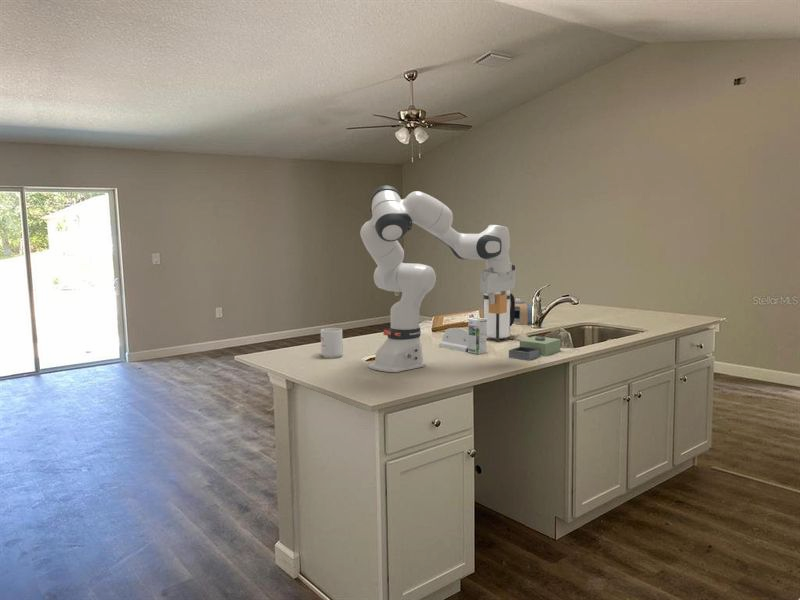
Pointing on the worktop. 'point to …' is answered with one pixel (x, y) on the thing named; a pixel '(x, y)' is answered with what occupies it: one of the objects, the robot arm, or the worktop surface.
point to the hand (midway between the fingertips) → (497, 303)
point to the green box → (542, 344)
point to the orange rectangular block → (499, 304)
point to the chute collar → (524, 353)
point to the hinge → (455, 339)
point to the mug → (331, 342)
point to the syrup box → (477, 335)
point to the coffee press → (499, 318)
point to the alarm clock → (522, 313)
